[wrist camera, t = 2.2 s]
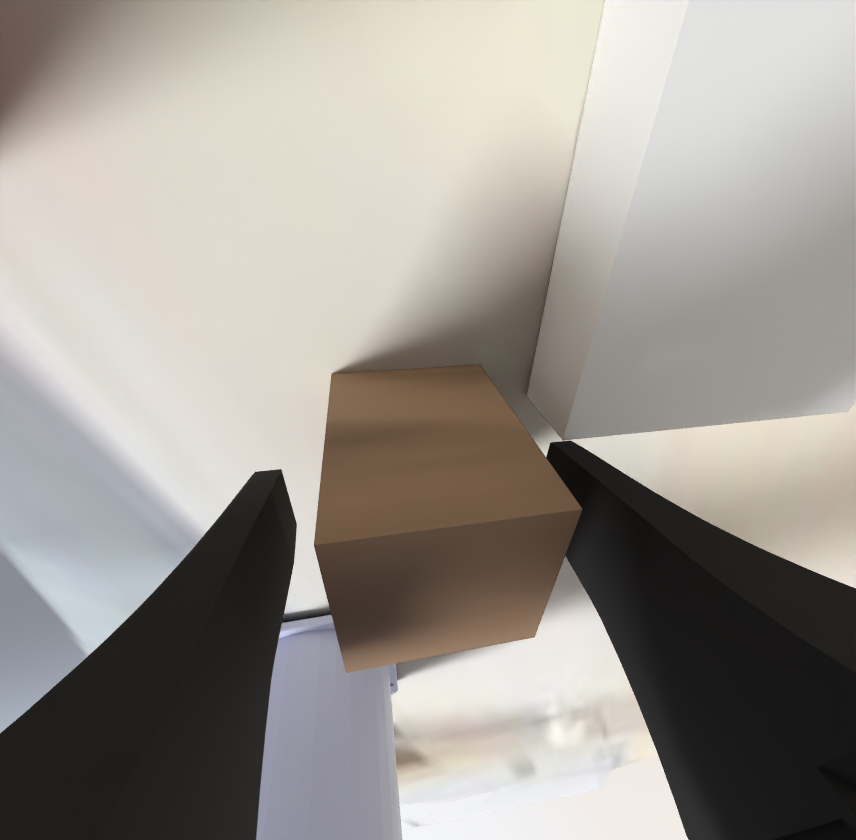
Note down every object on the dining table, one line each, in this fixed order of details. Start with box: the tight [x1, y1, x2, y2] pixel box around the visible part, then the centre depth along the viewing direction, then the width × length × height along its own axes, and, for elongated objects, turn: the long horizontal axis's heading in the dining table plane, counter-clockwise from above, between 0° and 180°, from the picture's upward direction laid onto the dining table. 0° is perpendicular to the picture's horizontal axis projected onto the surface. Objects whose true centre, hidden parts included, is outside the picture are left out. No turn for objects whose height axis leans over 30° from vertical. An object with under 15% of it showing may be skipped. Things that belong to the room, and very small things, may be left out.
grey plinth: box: [527, 0, 856, 440], centre depth 9 cm, size 10×10×2 cm
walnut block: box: [314, 365, 582, 673], centre depth 9 cm, size 4×4×6 cm
